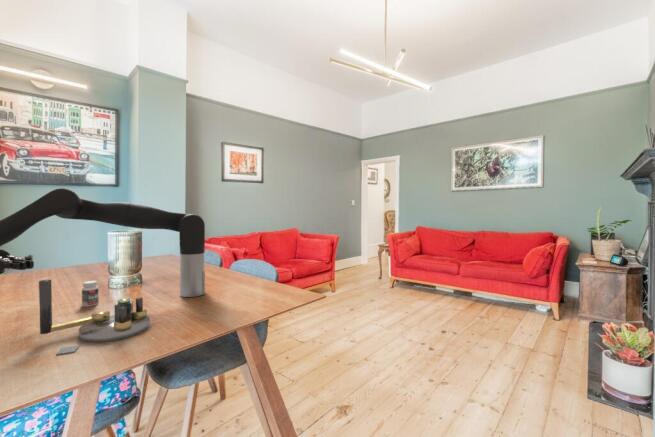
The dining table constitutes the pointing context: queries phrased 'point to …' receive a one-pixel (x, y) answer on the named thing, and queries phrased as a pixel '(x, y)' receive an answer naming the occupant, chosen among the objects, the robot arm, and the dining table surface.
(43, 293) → the lever
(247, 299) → the dining table surface
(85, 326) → the tribrach plate
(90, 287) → the pill bottle
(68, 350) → the plate
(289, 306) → the dining table surface
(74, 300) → the dining table surface
